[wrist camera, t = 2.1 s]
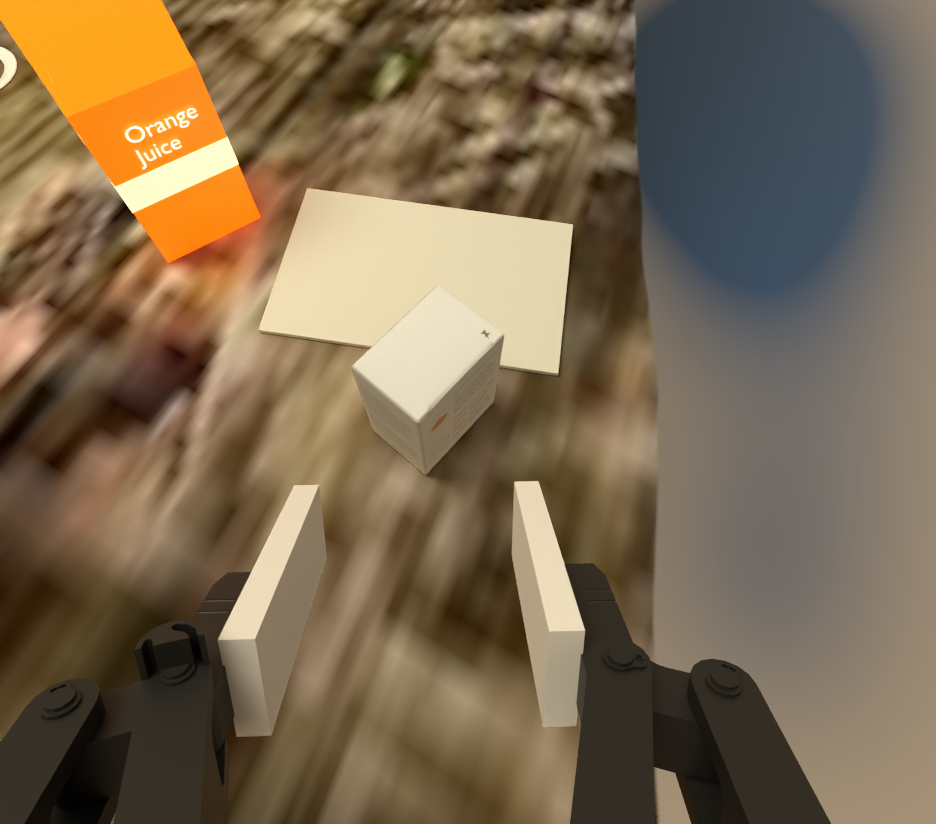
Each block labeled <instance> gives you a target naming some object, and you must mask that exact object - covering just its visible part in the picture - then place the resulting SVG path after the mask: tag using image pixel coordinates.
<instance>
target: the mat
mask: <svg viewBox="0 0 936 824" xmlns="http://www.w3.org/2000/svg"><path fill="white" fill-rule="evenodd" d="M572 230H573V224H566V223H558V222H551V221H544V220H536V219H529V218H522V217H514V216H507V215H500V214H493V213H485V212H478V211H471V210H463V209H456V208H449V207H441V206H434V205H427V204H419V203H412V202H405V201H398V200H390V199H383V198H376V197H368V196H361V195H354V194H346V193H339V192H332V191H324V190H317V189H310V188H307V190H306V193H305V196H304V199H303V202H302V205H301V208H300V211H299V214H298V217H297V219H296V222H295V225H294V228H293V231H292V234H291V237H290V240H289V243H288V246H287V248H286V251H285V254H284V257H283V260H282V263H281V266H280V269H279V272H278V275H277V278H276V280H275V283H274V286H273V289H272V292H271V295H270V298H269V301H268V304H267V307H266V309H265V312H264V315H263V318H262V321H261V324H260V327H259V332H260V333H267V334H274V335H281V336H288V337H294V338H301V339H308V340H315V341H322V342H329V343H335V344H342V345H349V346H356V347H363V348H371V347H372V346H373V345H374V344H375V343H376V342H377V341H378V340H379V339H381V338H382V337H383V336H384V335H385V334H386V333H387V332H388V331H389V330H390V329H391V328H392V327H393V326H394V325H395V324H396V323H398V322H399V321H400V320H401V319H402V318H403V317H404V316H405V315H406V314H407V313H408V312H409V311H410V310H411V309H412V308H413V307H414V306H416V305H417V304H418V303H419V302H420V301H421V300H422V299H423V298H424V297H425V296H426V295H427V294H428V293H429V292H430V291H432V290H433V289H434V288H435V287H436V286H437V285H439V286H440V287H442V288H443V289H444V290H446V291H447V292H449V293H450V294H451V295H453V296H454V297H455V298H457V299H458V300H459V301H461V302H462V303H463V304H465V305H466V306H467V307H469V308H470V309H472V310H473V311H474V312H476V313H477V314H478V315H480V316H481V317H482V318H484V319H485V320H486V321H488V322H489V323H490V324H492V325H493V326H494V327H496V328H497V329H498V330H500V331H501V332H502V333H504V335H505V336H504V341H503V348H502V353H501V360H500V366H499V367H500V368H507V369H514V370H520V371H527V372H534V373H541V374H548V375H555V376H558V371H559V361H560V351H561V341H562V331H563V321H564V310H565V300H566V290H567V280H568V270H569V260H570V250H571V240H572Z"/></svg>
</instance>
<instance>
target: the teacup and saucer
mask: <svg viewBox="0 0 936 824" xmlns="http://www.w3.org/2000/svg"><path fill="white" fill-rule="evenodd" d="M0 59H1V60H2V62H3V63H4V66H5V70H4V73H3V75H2V77H1V78H0V89H2V88H3V87H4V86H6V85H7V84H8V83H9V82H10V81H11V79H12V78H13V77H14V75H15V73H16V70H17V61H16V58H15V57H14V55H13V54H12V53H11V52H10V51H8V50H7V49H5V48H2V47H0Z"/></svg>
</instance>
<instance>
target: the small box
mask: <svg viewBox="0 0 936 824" xmlns="http://www.w3.org/2000/svg"><path fill="white" fill-rule="evenodd" d="M504 336H505V335H504V333H502V332H501V331H500V330H498V329H497V328H496V327H494V326H493V325H492V324H490V323H489V322H488V321H486V320H485V319H484V318H482V317H481V316H480V315H478V314H477V313H476V312H474V311H473V310H472V309H470V308H469V307H467V306H466V305H465V304H463V303H462V302H461V301H459V300H458V299H457V298H455V297H454V296H453V295H451V294H450V293H449V292H447V291H446V290H444V289H443V288H442V287H440V286H439V285H437V286H436V287H435V288H434V289H433V290H432V291H430V292H429V293H428V294H427V295H426V296H425V297H424V298H423V299H422V300H421V301H420V302H419V303H418V304H417V305H416V306H414V307H413V308H412V309H411V310H410V311H409V312H408V313H407V314H406V315H405V316H404V317H403V318H402V319H401V320H400V321H399V322H398V323H396V324H395V325H394V326H393V327H392V328H391V329H390V330H389V331H388V332H387V333H386V334H385V335H384V336H383V337H382V338H381V339H379V340H378V341H377V342H376V343H375V344H374V345H373V346H372V347H371V348H370V349H369V350H368V351H367V352H366V353H364V354H363V355H362V356H361V357H360V358H359V359H358V360H357V361H356V362H355V363H354V364H352V365H351V368H352V371H353V374H354V377H355V380H356V383H357V386H358V388H359V391H360V394H361V397H362V400H363V403H364V406H365V409H366V412H367V414H368V417H369V420H370V423H371V426H372V429H373V431H374V432H376V433H377V434H378V435H379V436H380V437H381V438H382V439H383V440H385V441H386V442H387V443H388V444H389V445H390V446H392V447H393V448H394V449H395V450H396V451H397V452H399V453H400V454H401V455H402V456H403V457H404V458H406V459H407V460H408V461H409V462H410V463H411V464H413V465H414V466H415V467H416V468H417V469H419V470H420V471H421V472H422V473H423V474H425V475H426V474H428V473H429V471H430V470H431V469H432V468H433V467H434V466H435V465H436V464H437V463H438V461H439V460H440V459H441V458H442V457H443V456H444V455H445V454H446V453H447V452H448V451H449V450H450V448H451V447H452V446H453V445H454V444H455V443H456V442H457V441H458V440H459V439H460V438H461V437H462V435H463V434H464V433H465V432H466V431H467V430H468V429H469V428H470V427H471V426H472V425H473V424H474V422H475V421H476V420H477V419H478V418H479V417H480V416H481V415H482V414H483V413H484V412H485V411H486V409H487V408H488V407H489V406H490V405H491V404H492V403H493V402H494V397H495V391H496V385H497V379H498V373H499V366H500V360H501V353H502V348H503V341H504Z"/></svg>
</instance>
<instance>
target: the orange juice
mask: <svg viewBox="0 0 936 824" xmlns="http://www.w3.org/2000/svg"><path fill="white" fill-rule="evenodd" d="M0 19H1V21H2V22H3V24H4V25H5V27H6V28H7V30H8V31H9V33H10V34H11V36H12V37H13V39H14V40H15V42H16V43H17V45H18V46H19V48H20V49H21V51H22V52H23V53H24V55H25V56H26V58H27V59H28V61H29V62H30V64H31V65H32V67H33V68H34V70H35V71H36V73H37V74H38V76H39V77H40V79H41V80H42V82H43V83H44V85H45V86H46V87H47V89H48V90H49V92H50V93H51V95H52V96H53V98H54V99H55V101H56V102H57V104H58V106H59V107H60V109H61V110H62V112H63V114H64V115H65V116H66V118H67V119H68V121H69V122H70V124H71V125H72V126H73V128H74V129H75V131H76V132H77V134H78V136H79V137H80V139H81V140H82V141H83V143H84V144H85V145H86V146H87V148H88V149H89V151H90V152H91V153H92V155H93V156H94V158H95V159H96V161H97V162H98V163H99V165H100V166H101V168H102V169H103V171H104V172H105V173H106V175H107V176H108V178H109V179H110V181H111V183H112V184H113V186H114V187H115V189H116V190H117V192H118V193H119V194H120V196H121V197H122V199H123V200H124V202H125V203H126V204H127V206H128V207H129V209H130V210H131V212H132V213H134V215H135V216H136V218H137V219H138V220H139V222H140V223H141V225H142V226H143V228H144V229H145V230H146V232H147V233H148V235H149V236H150V238H151V239H152V240H153V242H154V243H155V245H156V246H157V248H158V249H159V250H160V252H161V253H162V255H163V256H164V257H165V259H166V260H167V262H168V263H170V262H172V261H174V260H176V259H178V258H180V257H182V256H184V255H186V254H188V253H190V252H192V251H194V250H196V249H198V248H200V247H202V246H204V245H206V244H208V243H210V242H213V241H215V240H217V239H219V238H221V237H223V236H225V235H227V234H229V233H231V232H233V231H235V230H237V229H239V228H241V227H243V226H245V225H247V224H249V223H251V222H253V221H255V220H257V219H259V218H261V217H260V214H259V212H258V210H257V207H256V205H255V203H254V200H253V198H252V195H251V193H250V191H249V188H248V186H247V184H246V181H245V179H244V177H243V174H242V172H241V170H240V167H239V165H238V164H239V163H238V161H237V159H236V156H235V154H234V151H233V149H232V147H231V144H230V142H229V140H228V137H227V136H226V134H225V132H224V130H223V127H222V125H221V122H220V120H219V118H218V115H217V113H216V111H215V108H214V106H213V104H212V101H211V99H210V97H209V94H208V92H207V89H206V87H205V85H204V82H203V80H202V78H201V75H200V73H199V71H198V68H197V66H196V64H195V61H194V60H193V59H192V57H191V56H190V54H189V52H188V50H187V48H186V46H185V44H184V42H183V41H182V39H181V37H180V35H179V33H178V31H177V29H176V27H175V25H174V24H173V22H172V20H171V18H170V16H169V14H168V12H167V10H166V8H165V6H164V5H163V3H162V1H161V0H0Z"/></svg>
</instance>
